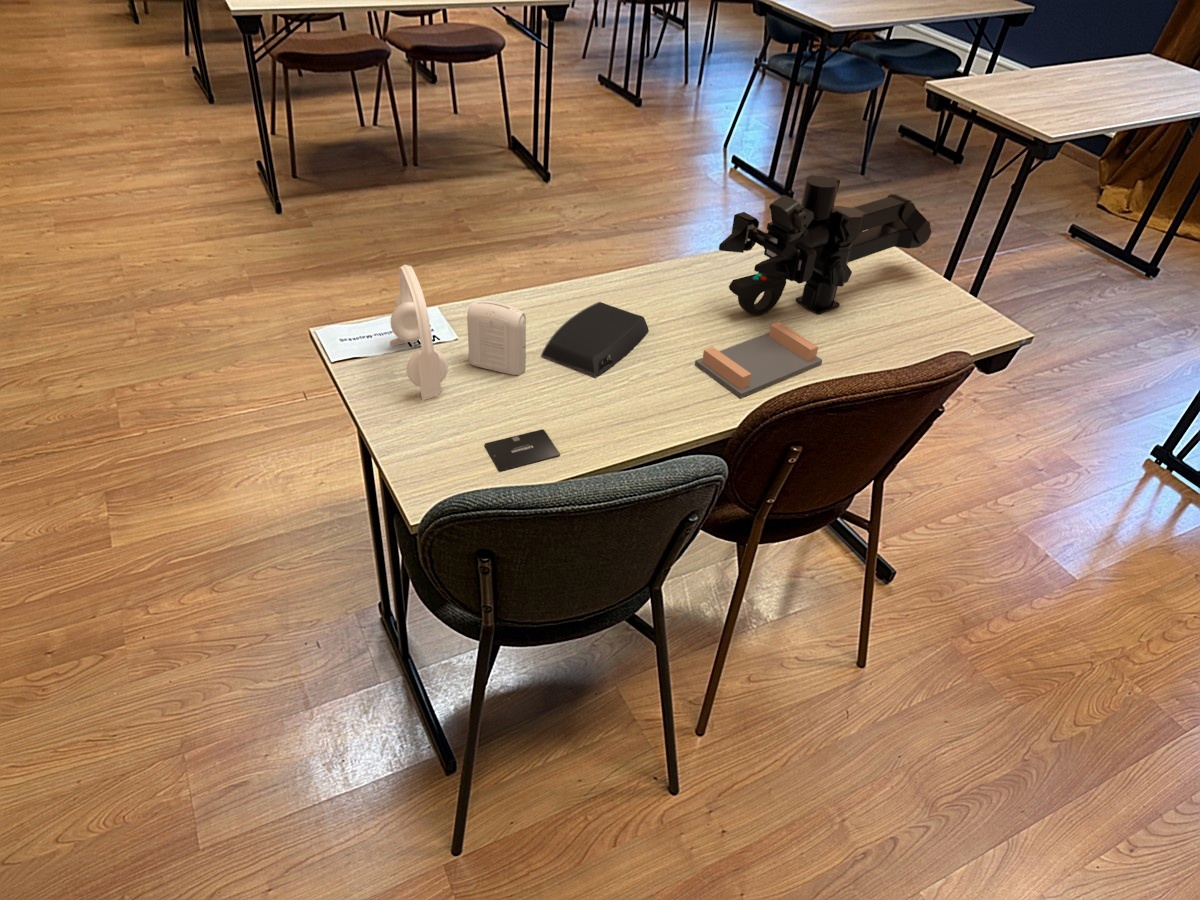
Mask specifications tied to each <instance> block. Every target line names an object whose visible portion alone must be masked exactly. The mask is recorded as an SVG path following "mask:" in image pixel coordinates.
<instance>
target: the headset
mask: <svg viewBox="0 0 1200 900" xmlns="http://www.w3.org/2000/svg"><path fill="white" fill-rule="evenodd" d="M398 285H399V286H398V287H399V288H398V290H399V293H398V295H397V296H396V300H395V302H396V307H395V309H393V311H392V313H391V316H390V328H391V330H392V332H393V334H394V335H395V336H396V338H393V339H391V340H389V345H390V346H391V347H393V346H398V345H404V344H406V343H413V342H417V341H419V340H420V348H421V349H419V350H417V351H415V352H414V353H413V354H412V355H411V356H410V358H409V359H408V361H407V364H406V374H407V377H408V379H409V381H410V382H411V383H412V384H413V385H415V386H416V387H418V388H420V396H421V400H422V401H426V400H429V399H431V398H434V397H436V396H437V395H439V394H441V390H442V382H443V381H444V380H445V378H446V377H447V374H448V371H449V365H448V364H449V363H448V361H447V358H446V357H445V355H444V354H443V353H442V352H441V351H439V350H438V349H435V348H434V342H433V336H432V331H431V329H432V328H431V323H430V317H429V313H428V308H427V304H426V299H425V295H424V292H423V290H422V287H421V284H420V282H419V279H418V278H417V274H416V273H415V270H414V268H413V267H412V265H408V264H403V265H402V266H399V267H398Z"/></svg>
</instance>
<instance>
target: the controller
mask: <svg viewBox="0 0 1200 900" xmlns="http://www.w3.org/2000/svg"><path fill="white" fill-rule="evenodd" d="M786 285H787V279H784V278H780V277H777V276H773V275H769V274H764V273H760V272H757V273H754V274H750V275H746V276H743V277H742V276H741V277H739V278H734V279H732V281H730V283H729V285H728V289H729V291H731V293H733V294H734V295H735V296H737V301H738V304H739V306H740V307H741V309H742V310H743V311H744V312H746V314H747V313H748V314H750V315H752V316H760V315H764V314H767V313H768V312H769V311H771V310H772V309H774V307H775V306H776V305H777V304H778V302H779V301H780V299H781V297H782V294H783V292H784V290H785V288H786ZM762 293H763V295H762ZM760 295H762V297H761V298H760V299H759V300H758V301H757V299H758V297H759V296H760ZM756 301H757V302H756Z"/></svg>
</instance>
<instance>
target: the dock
mask: <svg viewBox="0 0 1200 900" xmlns="http://www.w3.org/2000/svg"><path fill="white" fill-rule="evenodd" d="M818 350H819V346H818V345H816V344H815V343H814V342H811V341H810V340H808V339H807V338H806V337H804V336H802V335H801V334H799V333H797V332H795V331H794V330H792V329H791V328H789V327H788V326H787V325H784V324H783V323H781V322H780V321H777V322H775V323H773V324H771V325H770V329H769V332H767V333H764V334H761V335H759V336H756V337H754V338H750V339H747V340H746V341H743V342H741V343H738V344H735V345H733V346H729V347H727V348H725V349H722V350H718V349H717V348H715V347H713V346H711V347H708V348H705V349H704V350H703V355H702V357H700V358H698V359H695V361H694V366H696V367H697V369H699V370H700V371H702V372H703V373H705V374H706V375H708V376H709V377H710V378H711V379H713V380H714V381H716V382H717V383H719V384H720V385H721V386H723V387H724V388H725V389H726V390H728V391H729V392H731V394H734V395H735V396H736V397H738V398H739V399H740V398H741V399H743V398H745V397H747V396H750V395H752V394H754V393H757V392H760V391H762V390H764V389H766V387H767V388H768V387H771V386H774V385H776V384H779V383H781V382H783V381H785V380H787V379H790V378H792V377H795V376H798V375H800V374H802V373H805V372H807V371H810V370H812V369H814V368H816V367H817V368H818V367H819V366H822V363H823V359H822V358H820V357H819V356H817V354H818ZM780 381H781V382H780ZM778 382H779V383H778ZM773 384H774V385H773Z"/></svg>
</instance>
